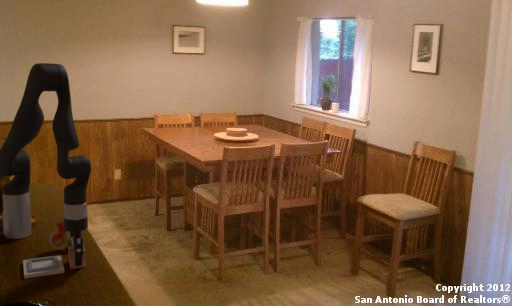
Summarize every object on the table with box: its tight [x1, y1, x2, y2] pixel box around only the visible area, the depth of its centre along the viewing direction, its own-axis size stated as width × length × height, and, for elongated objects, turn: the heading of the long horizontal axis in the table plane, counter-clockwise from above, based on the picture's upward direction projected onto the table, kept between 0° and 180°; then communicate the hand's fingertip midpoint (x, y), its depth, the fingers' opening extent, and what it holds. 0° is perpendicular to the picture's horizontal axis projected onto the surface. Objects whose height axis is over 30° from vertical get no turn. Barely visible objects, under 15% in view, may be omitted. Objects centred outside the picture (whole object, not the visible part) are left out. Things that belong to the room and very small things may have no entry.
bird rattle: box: [48, 221, 72, 251], centre depth 184 cm, size 6×11×9 cm
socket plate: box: [22, 255, 65, 279], centre depth 170 cm, size 12×12×2 cm
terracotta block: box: [67, 244, 87, 270], centre depth 173 cm, size 5×5×6 cm
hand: (77, 260), depth 173 cm, fingers open, 8 cm apart
